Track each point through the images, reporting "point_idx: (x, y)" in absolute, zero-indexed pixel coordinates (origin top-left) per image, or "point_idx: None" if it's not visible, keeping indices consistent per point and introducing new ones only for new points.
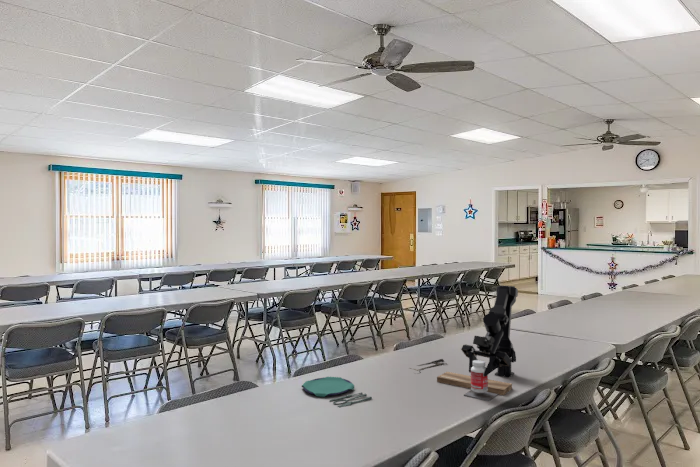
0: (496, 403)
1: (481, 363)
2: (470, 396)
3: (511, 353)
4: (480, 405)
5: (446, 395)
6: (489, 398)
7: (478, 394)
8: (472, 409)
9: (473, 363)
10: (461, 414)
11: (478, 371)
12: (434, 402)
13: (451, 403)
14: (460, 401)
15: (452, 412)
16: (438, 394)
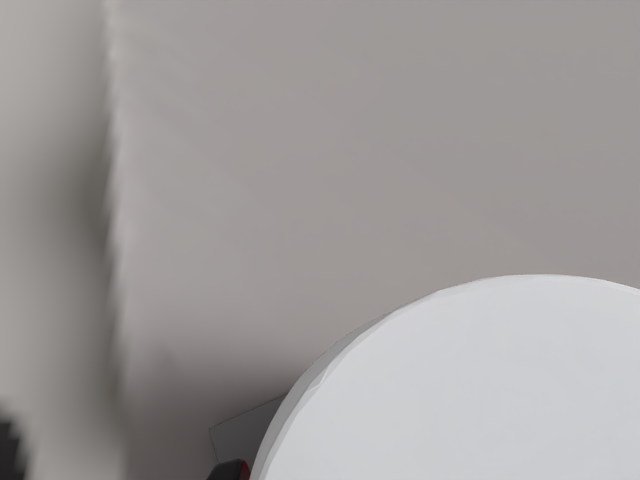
0: (124, 448)
1: (263, 476)
2: None
3: None
4: (192, 269)
5: (571, 172)
6: None
7: None
8: (176, 158)
9: (576, 293)
10: (165, 48)
11: (325, 356)
12: (456, 15)
13: (370, 101)
14: (369, 185)
15: (227, 21)
16: (628, 128)
